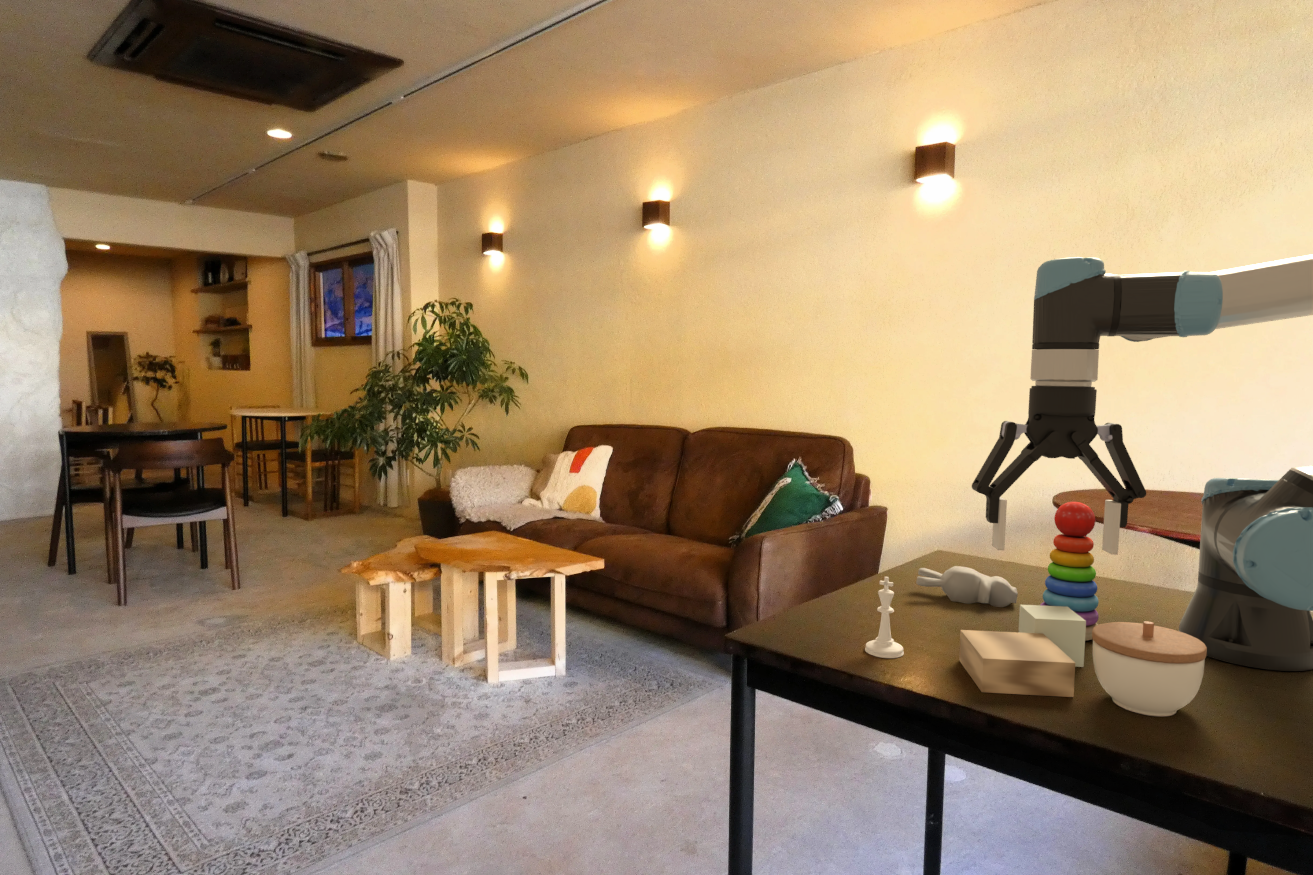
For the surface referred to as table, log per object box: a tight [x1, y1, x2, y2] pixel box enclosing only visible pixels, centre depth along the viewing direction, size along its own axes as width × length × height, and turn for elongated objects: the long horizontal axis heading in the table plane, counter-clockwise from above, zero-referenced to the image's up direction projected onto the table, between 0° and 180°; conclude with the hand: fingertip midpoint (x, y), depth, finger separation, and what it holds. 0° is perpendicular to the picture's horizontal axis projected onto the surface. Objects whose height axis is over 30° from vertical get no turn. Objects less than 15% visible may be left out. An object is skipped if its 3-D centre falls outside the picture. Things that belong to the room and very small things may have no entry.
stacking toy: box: [1039, 501, 1100, 642], centre depth 110 cm, size 8×8×19 cm
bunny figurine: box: [915, 565, 1019, 608], centre depth 127 cm, size 10×5×15 cm
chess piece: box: [864, 576, 905, 659], centre depth 103 cm, size 5×5×10 cm
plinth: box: [958, 629, 1076, 698], centre depth 94 cm, size 10×10×4 cm
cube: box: [1018, 604, 1086, 668], centre depth 101 cm, size 6×6×6 cm
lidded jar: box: [1092, 620, 1207, 718], centre depth 87 cm, size 11×11×9 cm
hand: (1053, 550), depth 100 cm, fingers open, 13 cm apart
